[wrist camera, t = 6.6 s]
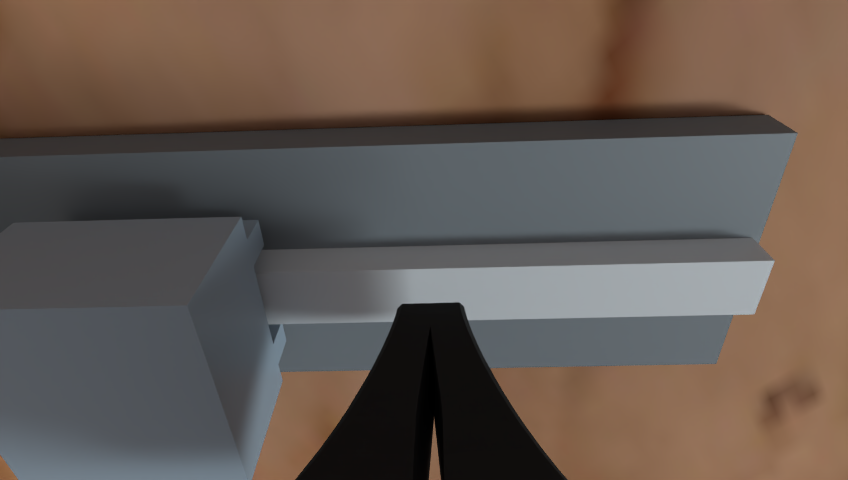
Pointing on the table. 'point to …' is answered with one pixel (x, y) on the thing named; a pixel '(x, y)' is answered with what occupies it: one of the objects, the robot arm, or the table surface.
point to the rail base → (457, 226)
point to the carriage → (135, 350)
